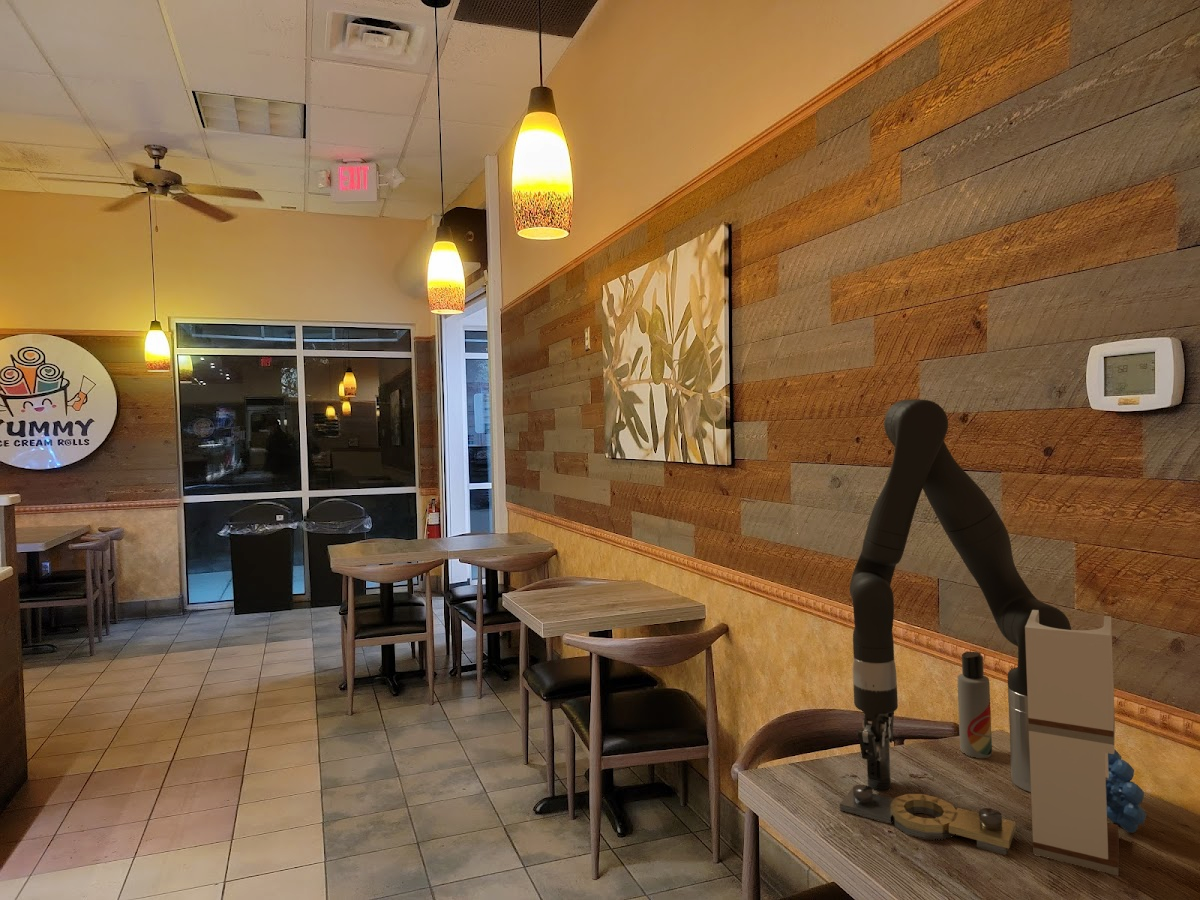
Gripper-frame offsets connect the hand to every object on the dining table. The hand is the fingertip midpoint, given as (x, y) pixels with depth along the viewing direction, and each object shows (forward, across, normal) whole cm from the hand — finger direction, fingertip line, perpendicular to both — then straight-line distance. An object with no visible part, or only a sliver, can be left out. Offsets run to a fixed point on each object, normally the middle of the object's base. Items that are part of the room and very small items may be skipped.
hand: (878, 773), depth 137 cm
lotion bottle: (+2, +23, -12) cm, 26 cm away
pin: (+2, 0, 0) cm, 2 cm away
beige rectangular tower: (+2, -4, -31) cm, 31 cm away
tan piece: (+2, -9, -10) cm, 14 cm away
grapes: (+2, +6, -35) cm, 36 cm away
